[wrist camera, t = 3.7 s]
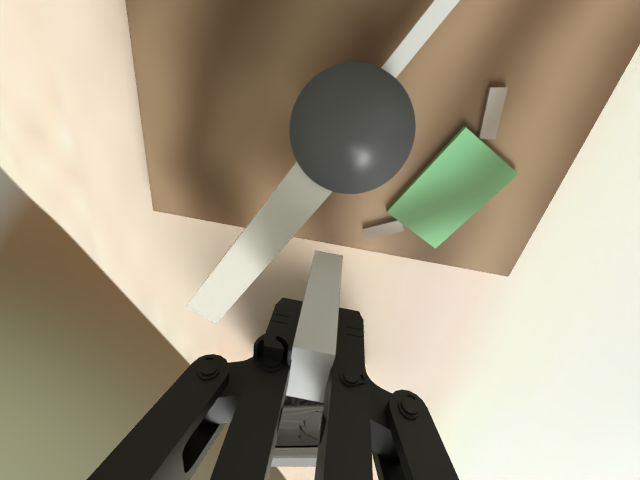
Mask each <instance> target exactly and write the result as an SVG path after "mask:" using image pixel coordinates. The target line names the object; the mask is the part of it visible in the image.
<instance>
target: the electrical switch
mask: <svg viewBox="0 0 640 480" xmlns="http://www.w3.org/2000/svg"><path fill="white" fill-rule="evenodd" d="M365 370H366V368H365ZM323 406H324V402H323V403H322V402H317V401H312V400H306V399H301V398H296V397H291V396H286V397H285V401H284V407H283V413H282V418H281V422H280V427H279V432H278V436H277V441H276V445H275V450H274V455H273V459H272V464H271V466H289V467H316V461H317V451H318V442H319V432H320V429H318V427H319V424H320V420H321V416H322V412H323Z"/></svg>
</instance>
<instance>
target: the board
mask: <svg viewBox="0 0 640 480" xmlns="http://www.w3.org/2000/svg"><path fill="white" fill-rule="evenodd" d="M433 1H434V0H126V8H127V15H128V23H129V31H130V38H131V46H132V53H133V61H134V69H135V76H136V84H137V91H138V99H139V107H140V114H141V122H142V129H143V137H144V145H145V152H146V160H147V167H148V175H149V183H150V190H151V198H152V205H153V211H158V212H163V213H169V214H174V215H180V216H185V217H190V218H196V219H201V220H206V221H212V222H217V223H223V224H228V225H233V226H239V227H244V228H246V227H247V225H248V224H249V223H250V222H251V220H252V219H253V218H254V216H255V215H256V214H257V212H258V211H259V210H260V208H261V207H262V206H263V205H264V203H265V202H266V201H267V199H268V198H269V197H270V195H271V194H272V193H273V191H274V190H275V189H276V188H277V186H278V185H279V184H280V182H281V181H282V180H283V178H284V177H285V176H286V174H287V173H288V172H289V171H290V169H291V168H292V167H293V165H294V164H295V163H296V161H297V160H296V158H295V156H294V154H293V151H292V147H291V143H290V134H289V127H290V118H291V113H292V110H293V106H294V104H295V102H296V100H297V98H298V96H299V94H300V93H301V91H302V90H303V88H304V87H305V86H306V84H307V83H308V82H309V81H310V80H311V79H312V78H313V77H315V76H316V75H317V74H319V73H320V72H322V71H324V70H325V69H327V68H329V67H332V66H334V65H337V64H342V63H346V62H362V63H368V64H372V65H375V66H377V67H380V68H381V67H382V66H383V65H384V63H385V62H386V61H387V60H388V58H389V57H390V56H391V54H392V53H393V52H394V51H395V49H396V48H397V47H398V46H399V44H400V43H401V42H402V40H403V39H404V38H405V37H406V35H407V34H408V33H409V32H410V30H411V29H412V28H413V26H414V25H415V24H416V23H417V21H418V20H419V19H420V18H421V16H422V15H423V14H424V12H425V11H426V10H427V9H428V7H429V6H430V5H431V4H432V2H433ZM639 44H640V0H460V1H459V2H458V3H457V4H456V6H455V7H454V8H453V9H452V10H451V12H450V13H449V14H448V15H447V17H446V18H445V19H444V20H443V21H442V23H441V24H440V25H439V26H438V27H437V29H436V30H435V31H434V32H433V34H432V35H431V36H430V37H429V38H428V40H427V41H426V42H425V43H424V45H423V46H422V47H421V48H420V49H419V51H418V52H417V53H416V54H415V55H414V57H413V58H412V59H411V60H410V62H409V63H408V64H407V65H406V66H405V68H404V69H403V70H402V71H401V72H400V74H399V75H398V76H397V77H396V79H397V80H398V81H399V82H400V84H401V85H402V86H403V87H404V89H405V90H406V92H407V94H408V96H409V98H410V100H411V102H412V106H413V109H414V114H415V123H416V130H415V138H414V143H413V146H412V149H411V152H410V154H409V156H408V158H407V160H406V162H405V164H404V165H403V167H402V168H401V169H400V170H399V172H398V173H397V174H396V175H395V176H394V177H393V178H392V179H390V180H389V181H388V182H386V183H385V184H384V185H382V186H380V187H378V188H376V189H374V190H371V191H368V192H364V193H359V194H342V193H337V192H332V193H331V194H330V195H329V196H328V197H327V198H326V200H325V201H324V202H323V203H322V204H321V205H320V206H319V208H318V209H317V210H316V211H315V212H314V213H313V214H312V215H311V217H310V218H309V219H308V220H307V221H306V222H305V223H304V225H303V226H302V227H301V228H300V229H299V230H298V231H297V232H296V234H295V235H294V236H293V237H298V238H303V239H309V240H314V241H320V242H325V243H330V244H336V245H341V246H346V247H352V248H357V249H363V250H368V251H373V252H379V253H384V254H390V255H395V256H400V257H406V258H411V259H416V260H422V261H427V262H433V263H438V264H443V265H449V266H454V267H459V268H465V269H470V270H476V271H481V272H486V273H492V274H497V275H503V276H509V275H510V273H511V271H512V269H513V267H514V266H515V264H516V262H517V260H518V259H519V257H520V255H521V253H522V252H523V250H524V248H525V246H526V244H527V243H528V241H529V239H530V237H531V236H532V234H533V232H534V230H535V229H536V227H537V225H538V223H539V221H540V220H541V218H542V216H543V214H544V213H545V211H546V209H547V207H548V206H549V204H550V202H551V200H552V198H553V197H554V195H555V193H556V191H557V190H558V188H559V186H560V184H561V182H562V181H563V179H564V177H565V175H566V174H567V172H568V170H569V168H570V167H571V165H572V163H573V161H574V159H575V158H576V156H577V154H578V152H579V151H580V149H581V147H582V145H583V144H584V142H585V140H586V138H587V136H588V135H589V133H590V131H591V129H592V128H593V126H594V124H595V122H596V121H597V119H598V117H599V115H600V113H601V112H602V110H603V108H604V106H605V105H606V103H607V101H608V99H609V98H610V96H611V94H612V92H613V90H614V89H615V87H616V85H617V83H618V82H619V80H620V78H621V76H622V75H623V73H624V71H625V69H626V67H627V66H628V64H629V62H630V60H631V59H632V57H633V55H634V53H635V52H636V50H637V48H638V46H639Z"/></svg>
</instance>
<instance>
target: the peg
mask: <svg viewBox="0 0 640 480" xmlns="http://www.w3.org/2000/svg"><path fill="white" fill-rule="evenodd" d="M459 1H460V0H434V1H433V2H432V4H431V5H430V6H429V7H428V9H427V10H426V11H425V12H424V14H423V15H422V16H421V18H420V19H419V20H418V21H417V23H416V24H415V25H414V26H413V28H412V29H411V30H410V32H409V33H408V34H407V35H406V37H405V38H404V39H403V40H402V42H401V43H400V44H399V46H398V47H397V48H396V49H395V51H394V52H393V53H392V54H391V56H390V57H389V58H388V60H387V61H386V62H385V63H384V65H383V66H382V67H381V68H380V67H377V66H375V65H372V64H368V63H362V62H346V63H342V64H337V65H334V66H332V67H329V68H327V69H325V70H324V71H322V72H320V73H319V74H317V75H316V76H315V77H313V78H312V79H311V80H310V81H309V82H308V83H307V84H306V86H305V87H304V88H303V90H302V91H301V93H300V94H299V96H298V98H297V100H296V102H295V104H294V106H293V110H292V113H291V118H290V127H289V134H290V143H291V147H292V151H293V154H294V156H295V158H296V160H297V161H296V163H295V164H294V165H293V167H292V168H291V169H290V171H289V172H288V173H287V174H286V176H285V177H284V178H283V180H282V181H281V182H280V184H279V185H278V186H277V188H276V189H275V190H274V191H273V193H272V194H271V195H270V197H269V198H268V199H267V201H266V202H265V203H264V205H263V206H262V207H261V208H260V210H259V211H258V212H257V214H256V215H255V216H254V218H253V219H252V220H251V222H250V223H249V224H248V225H247V227H246V228H245V229H244V231H243V232H242V233H241V235H240V236H239V237H238V239H237V240H236V241H235V242H234V244H233V245H232V246H231V248H230V249H229V250H228V252H227V253H226V254H225V256H224V257H223V258H222V259H221V261H220V262H219V263H218V265H217V266H216V267H215V269H214V270H213V271H212V273H211V274H210V275H209V277H208V278H207V279H206V281H205V282H204V283H203V285H202V286H201V287H200V289H199V290H198V291H197V293H196V294H195V295H194V297H193V298H192V299H191V301H190V302H189V303H188V305H187V307H188V308H190V309H192V310H193V311H195V312H196V313H198V314H200V315H201V316H203V317H205V318H206V319H208V320H209V321H211V322H213V323H214V324H216V323H217V322H218V321H219V320H220V319H221V318H222V316H223V315H224V314H225V313H226V312H227V311H228V310H229V308H230V307H231V306H232V305H233V304H234V303H235V302H236V301H237V299H238V298H239V297H240V296H241V295H242V294H243V293H244V291H245V290H246V289H247V288H248V287H249V286H250V285H251V284H252V282H253V281H254V280H255V279H256V278H257V277H258V276H259V274H260V273H261V272H262V271H263V270H264V269H265V268H266V266H267V265H268V264H269V263H270V262H271V261H272V260H273V259H274V257H275V256H276V255H277V254H278V253H279V252H280V251H281V249H282V248H283V247H284V246H285V245H286V244H287V243H288V242H289V240H290V239H291V238H292V237H293V236H294V235H295V234H296V232H297V231H298V230H299V229H300V228H301V227H302V226H303V225H304V223H305V222H306V221H307V220H308V219H309V218H310V217H311V215H312V214H313V213H314V212H315V211H316V210H317V209H318V208H319V206H320V205H321V204H322V203H323V202H324V201H325V200H326V198H327V197H328V196H329V195H330V194H331V193H332V192H337V193H342V194H359V193H364V192H368V191H371V190H374V189H376V188H378V187H380V186H382V185H384V184H385V183H386V182H388V181H389V180H390V179H392V178H393V177H394V176H395V175H396V174H397V173H398V172H399V170H400V169H401V168H402V167H403V165H404V164H405V162H406V160H407V158H408V156H409V154H410V152H411V149H412V146H413V143H414V138H415V130H416V123H415V114H414V109H413V106H412V102H411V100H410V98H409V96H408V94H407V92H406V90H405V89H404V87H403V86H402V85H401V84H400V82H399V81H398V80H397V79H396V77H397V76H398V75H399V74H400V72H401V71H402V70H403V69H404V68H405V66H406V65H407V64H408V63H409V62H410V60H411V59H412V58H413V57H414V55H415V54H416V53H417V52H418V51H419V49H420V48H421V47H422V46H423V45H424V43H425V42H426V41H427V40H428V38H429V37H430V36H431V35H432V34H433V32H434V31H435V30H436V29H437V27H438V26H439V25H440V24H441V23H442V21H443V20H444V19H445V18H446V17H447V15H448V14H449V13H450V12H451V10H452V9H453V8H454V7H455V6H456V4H457V3H458V2H459Z"/></svg>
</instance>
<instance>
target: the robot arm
mask: <svg viewBox="0 0 640 480" xmlns="http://www.w3.org/2000/svg"><path fill="white" fill-rule="evenodd" d="M342 259H343V256H342V255H336V254H331V253H325V252H320V251H315V254H314V258H313V262H312V266H311V271H310V275H309V279H308V283H307V288H306V292H305V296H304V300H303V302H302V301H297V300H291V299H286V298H282V299H281V300H280V301H279V302H278V303H277V304H276V305H275V308H274V311H273V314H272V317H271V319H270V322H269V325H268V328H267V331H266V334H264V335H262V336H261V337H259V338H258V339H257V340H256V342H255V343H254V355H253V357H252V358H250V359H247V360H245V361H240V362H231V363H228V362H227V360H226V359H224V358H223V357H222V356H219V355H215V354H211V355H205V356H202V357H200V358H198V359H197V360H196V361H194V362H193V363H192V364H191V365H190V366H189V367H188V368H187V370H186V371H185V372H184V373H183V374H182V375H181V376H180V377H179V378H178V379H177V381H176V382H175V383H174V384H173V385H172V386H171V387H170V388H169V389H168V391H167V392H166V393H165V394H164V395H163V396H162V397H161V398H160V399H159V401H158V402H157V403H156V404H155V405H154V406H153V407H152V408H151V409H150V410H149V411H148V413H147V414H146V415H145V416H144V417H143V418H142V419H141V420H140V422H139V423H138V424H137V425H136V426H135V427H134V428H133V429H132V430H131V431H130V432H129V434H128V435H127V436H126V437H125V438H124V439H123V440H122V442H120V444H119V445H118V446H117V447H116V448H115V449H114V450H113V451H112V452H111V453H110V455H109V456H108V457H107V458H106V459H105V460H104V461H103V462H102V463H101V465H100V466H99V467H98V468H97V469H96V470H95V471H94V472H93V473H92V474H91V476H90V477H89V478H88V479H87V480H190V478H191V477H192V476H193V473H194V472H195V471H196V469H197V467H198V466H199V464H200V463H201V461H202V460H203V458H204V457H205V455H206V454H207V452H208V450H209V449H210V447H211V446H212V444H213V443H214V441H215V440H216V438H217V436H218V435H219V433H220V432H221V430H222V429H223V427H224V425H225V424H226V423H227V422H231V423H230V426H229V429H228V432H227V434H226V437H225V440H224V443H223V445H222V448H221V451H220V454H219V456H218V459H217V462H216V465H215V467H214V470H213V473H212V476H211V479H210V480H268V478H269V473H270V469H271V464H272V459H273V455H274V450H275V445H276V441H277V436H278V432H279V427H280V422H281V418H282V413H283V407H284V401H285V397H286V396H291V397H296V398H301V399H306V400H312V401H317V402H322V403H323V402H324V406H323V412H322V416H321V420H320V424H319V427H318V429H320V432H319V442H318V451H317V461H316V470H315V480H373V472H372V455H373V459H374V463H375V467H376V471H377V475H378V479H379V480H459V478H458V476H457V474H456V472H455V469H454V467H453V465H452V463H451V460H450V458H449V456H448V454H447V451H446V449H445V447H444V445H443V442H442V440H441V438H440V435H439V433H438V431H437V429H436V426H435V424H434V422H433V420H432V417H431V415H430V413H429V411H428V408H427V407H426V405H425V403H424V402H423V400H422V399H421V398H419V397H418V396H417V395H416V394H414V393H412V392H410V391H407V390H398V391H395V392H394V393H393V394H392V393H390V392H388V391H386V390H384V389H382V388H380V387H379V386H377V385H375V384H374V383H373V382H372V381H371V380H370V378H369V377H368V375H367V373H366V370H365V357H364V331H363V330H364V325H363V319H362V317H361V315H360V313H359V311H354V310H349V309H343V308H339V300H340V286H341V273H342Z"/></svg>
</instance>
